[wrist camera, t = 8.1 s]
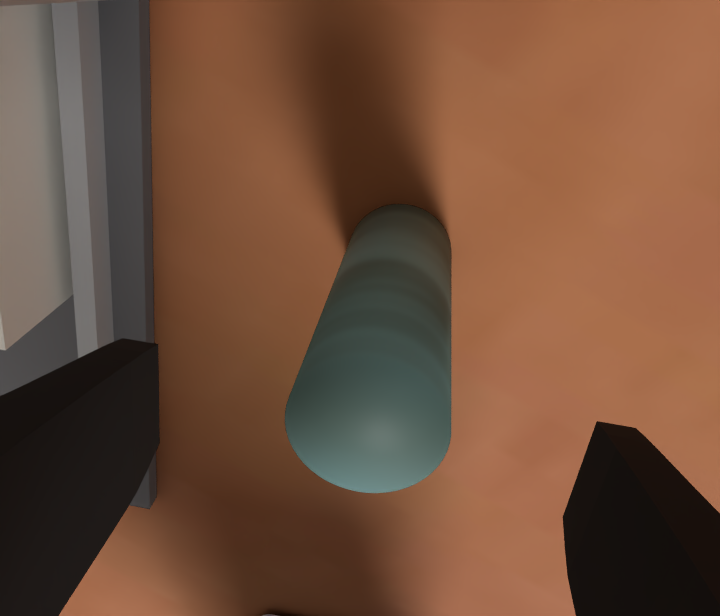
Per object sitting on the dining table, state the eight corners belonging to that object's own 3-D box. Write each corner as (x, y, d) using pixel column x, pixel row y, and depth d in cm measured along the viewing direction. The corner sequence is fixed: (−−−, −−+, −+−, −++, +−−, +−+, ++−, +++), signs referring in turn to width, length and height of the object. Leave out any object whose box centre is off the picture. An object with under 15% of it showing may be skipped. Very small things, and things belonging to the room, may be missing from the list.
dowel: (441, 306, 19) (435, 505, 12) (343, 290, 19) (279, 476, 12) (460, 213, 18) (466, 371, 10) (355, 196, 18) (292, 341, 11)
